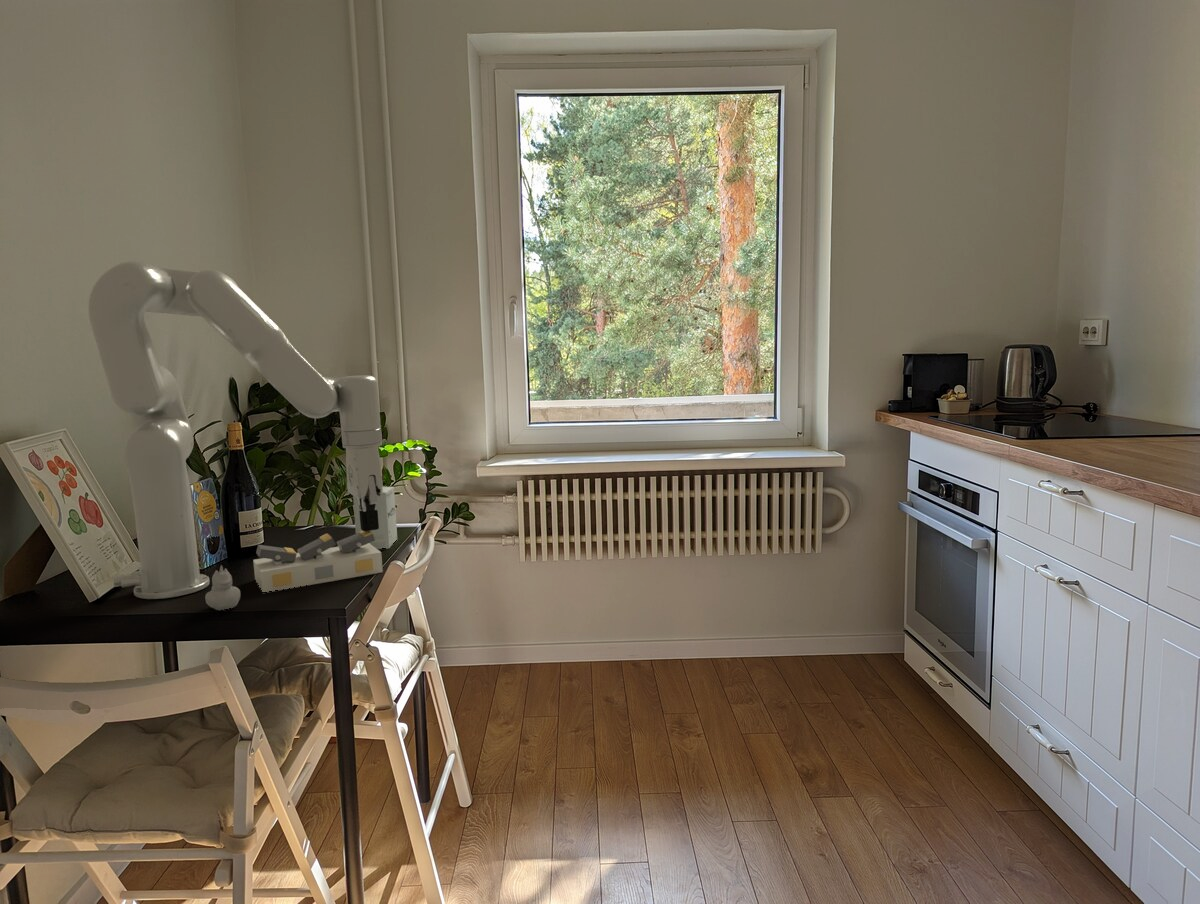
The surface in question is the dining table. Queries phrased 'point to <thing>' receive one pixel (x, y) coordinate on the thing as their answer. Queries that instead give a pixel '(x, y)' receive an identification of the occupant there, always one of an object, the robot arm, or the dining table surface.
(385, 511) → the supplement box
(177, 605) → the dining table surface
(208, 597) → the rubber duck
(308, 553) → the rocker
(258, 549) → the rocker
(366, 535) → the rocker
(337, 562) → the switch console
